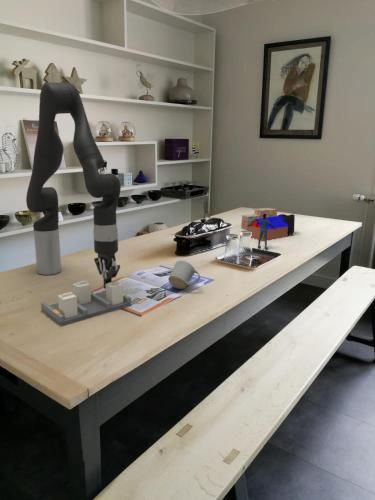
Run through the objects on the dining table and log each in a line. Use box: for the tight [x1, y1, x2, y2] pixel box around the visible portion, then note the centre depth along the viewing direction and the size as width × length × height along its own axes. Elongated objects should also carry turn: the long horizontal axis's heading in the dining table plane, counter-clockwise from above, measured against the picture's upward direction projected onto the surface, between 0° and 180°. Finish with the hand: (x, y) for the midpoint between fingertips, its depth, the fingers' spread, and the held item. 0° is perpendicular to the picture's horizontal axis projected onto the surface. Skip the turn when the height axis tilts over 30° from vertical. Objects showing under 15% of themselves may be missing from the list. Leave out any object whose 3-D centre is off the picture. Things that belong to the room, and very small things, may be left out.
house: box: [247, 215, 288, 242], centre depth 227 cm, size 12×20×12 cm, turn 125°
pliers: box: [202, 197, 211, 220], centre depth 238 cm, size 10×1×20 cm, turn 144°
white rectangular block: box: [105, 280, 124, 305], centre depth 134 cm, size 4×4×7 cm
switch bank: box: [40, 290, 132, 327], centre depth 132 cm, size 14×24×3 cm, turn 131°
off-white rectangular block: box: [72, 280, 92, 305], centre depth 133 cm, size 4×4×7 cm
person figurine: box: [256, 214, 276, 251], centre depth 202 cm, size 11×4×18 cm, turn 52°
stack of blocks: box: [240, 207, 278, 231], centre depth 247 cm, size 21×6×12 cm, turn 118°
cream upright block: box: [57, 291, 78, 319], centre depth 124 cm, size 4×4×7 cm
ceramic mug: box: [168, 260, 201, 290], centre depth 149 cm, size 11×8×8 cm
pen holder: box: [277, 213, 296, 236], centre depth 233 cm, size 9×9×10 cm
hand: (107, 288), depth 137 cm, fingers closed
